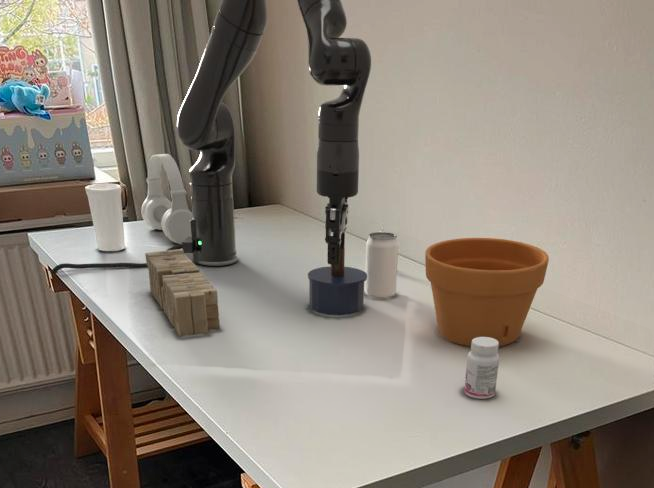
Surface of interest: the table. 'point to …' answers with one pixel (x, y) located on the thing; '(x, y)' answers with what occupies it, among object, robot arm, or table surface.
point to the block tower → (183, 292)
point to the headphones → (166, 201)
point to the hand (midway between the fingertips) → (336, 257)
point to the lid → (337, 274)
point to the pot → (336, 298)
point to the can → (381, 264)
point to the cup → (107, 215)
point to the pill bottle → (482, 368)
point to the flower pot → (483, 287)
